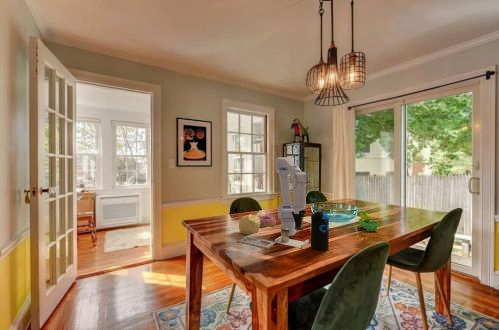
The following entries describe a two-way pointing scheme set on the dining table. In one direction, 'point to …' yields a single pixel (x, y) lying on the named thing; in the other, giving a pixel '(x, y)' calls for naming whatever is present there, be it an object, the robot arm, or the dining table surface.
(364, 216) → the green lumpy piece
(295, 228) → the banded peg
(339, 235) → the dining table surface
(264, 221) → the donut
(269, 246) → the pin block
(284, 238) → the plain peg
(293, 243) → the flanged base plate
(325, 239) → the aerosol can
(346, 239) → the dining table surface
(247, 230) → the sculpture
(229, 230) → the dining table surface
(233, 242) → the dining table surface
